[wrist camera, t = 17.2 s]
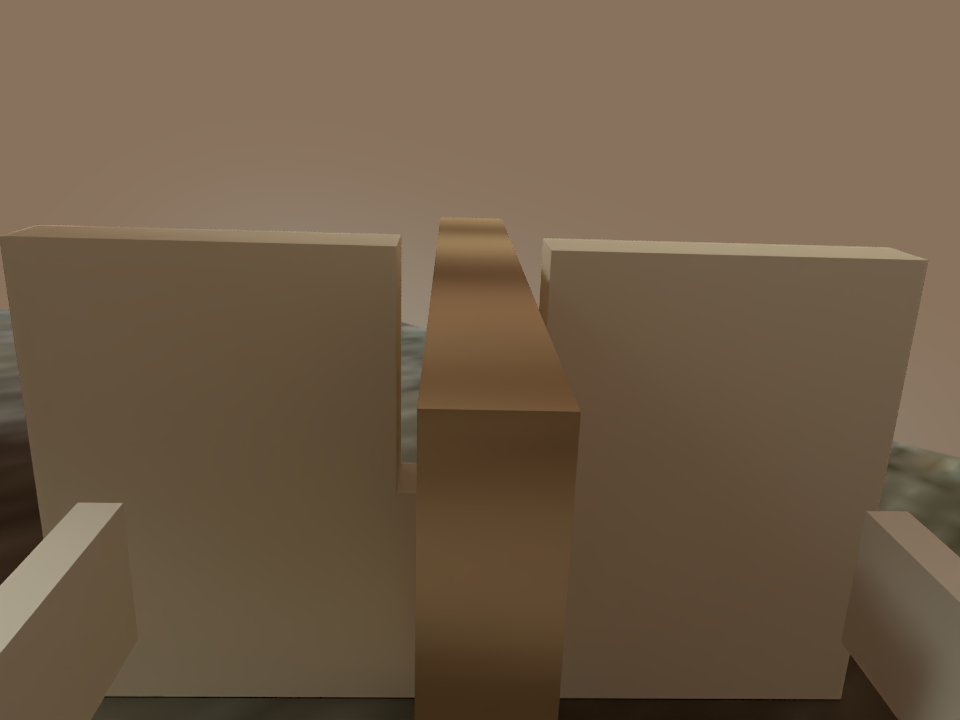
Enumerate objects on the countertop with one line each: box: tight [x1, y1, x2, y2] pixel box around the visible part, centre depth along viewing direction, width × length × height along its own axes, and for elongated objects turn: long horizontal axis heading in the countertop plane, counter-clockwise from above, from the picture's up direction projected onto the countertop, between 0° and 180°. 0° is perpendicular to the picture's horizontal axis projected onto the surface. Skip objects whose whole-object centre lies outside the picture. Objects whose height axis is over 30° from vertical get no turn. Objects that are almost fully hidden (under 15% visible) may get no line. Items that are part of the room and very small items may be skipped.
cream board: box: [0, 225, 928, 699], centre depth 24 cm, size 24×2×14 cm, turn 92°
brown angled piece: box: [414, 217, 581, 720], centre depth 20 cm, size 18×6×14 cm, turn 2°
